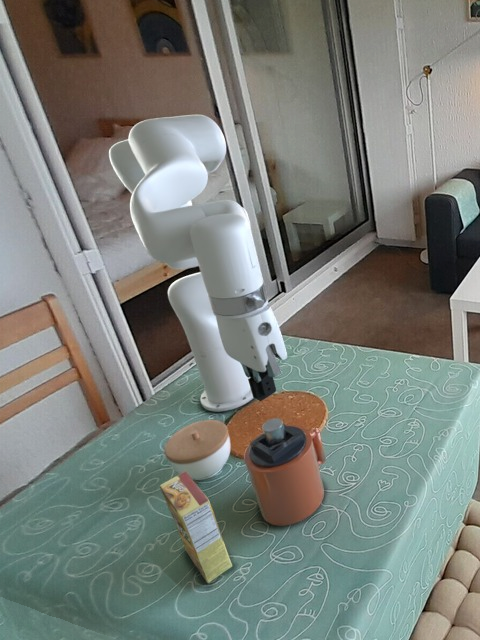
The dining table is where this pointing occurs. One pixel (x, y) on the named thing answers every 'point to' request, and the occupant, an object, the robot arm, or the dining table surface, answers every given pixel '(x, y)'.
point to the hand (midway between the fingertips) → (265, 394)
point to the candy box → (196, 525)
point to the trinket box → (199, 449)
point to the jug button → (274, 431)
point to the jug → (287, 475)
